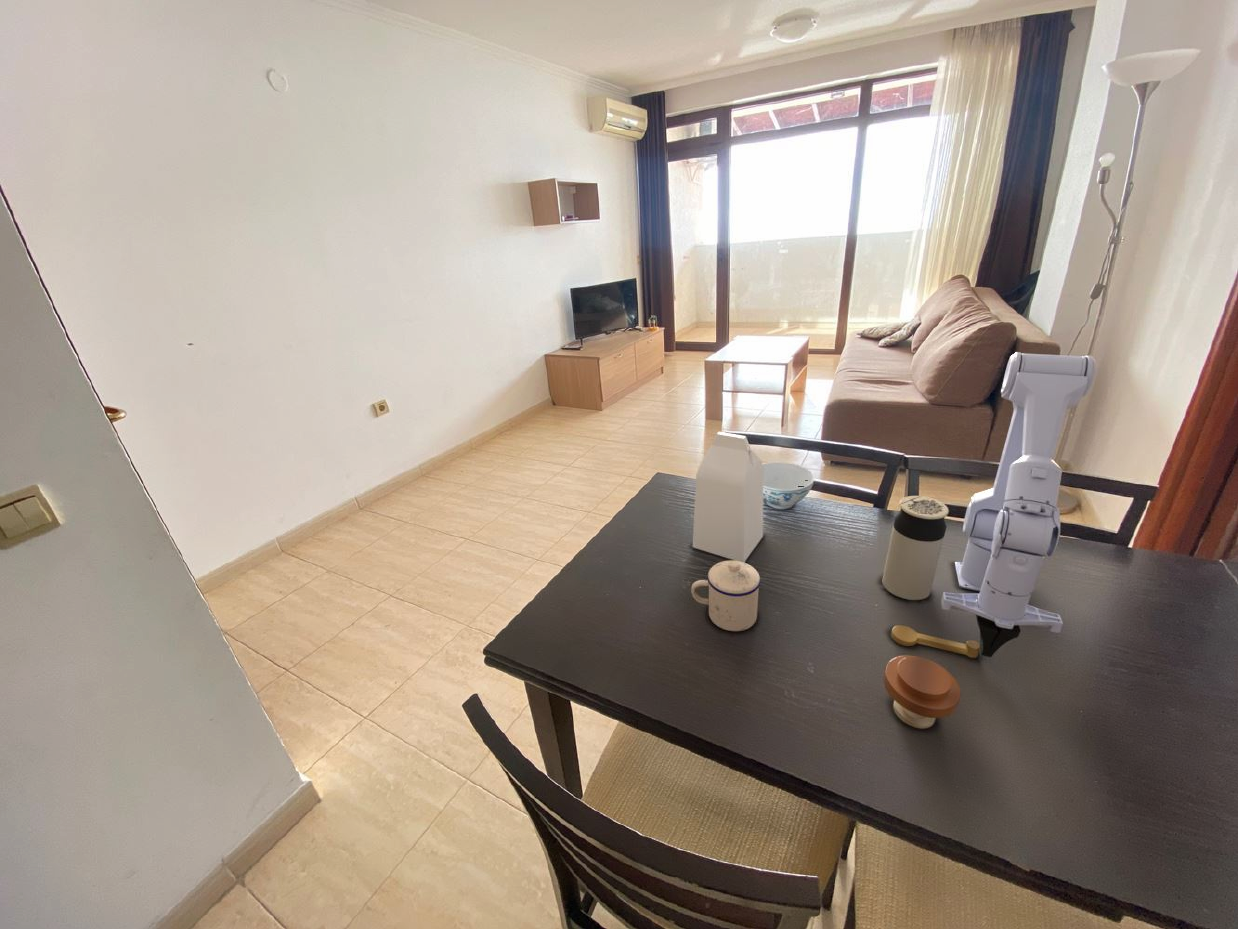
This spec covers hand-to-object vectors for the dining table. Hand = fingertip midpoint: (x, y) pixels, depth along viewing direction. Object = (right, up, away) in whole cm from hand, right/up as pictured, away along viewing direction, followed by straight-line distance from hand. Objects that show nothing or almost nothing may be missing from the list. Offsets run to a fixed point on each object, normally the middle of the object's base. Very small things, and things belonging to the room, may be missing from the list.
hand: (985, 651), depth 79 cm
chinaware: (-17, +20, +47) cm, 54 cm away
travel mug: (-3, +6, +16) cm, 17 cm away
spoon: (-7, 0, +4) cm, 8 cm away
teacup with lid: (-39, +2, +13) cm, 41 cm away
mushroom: (-16, -6, -7) cm, 18 cm away
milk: (-33, +12, +34) cm, 49 cm away
